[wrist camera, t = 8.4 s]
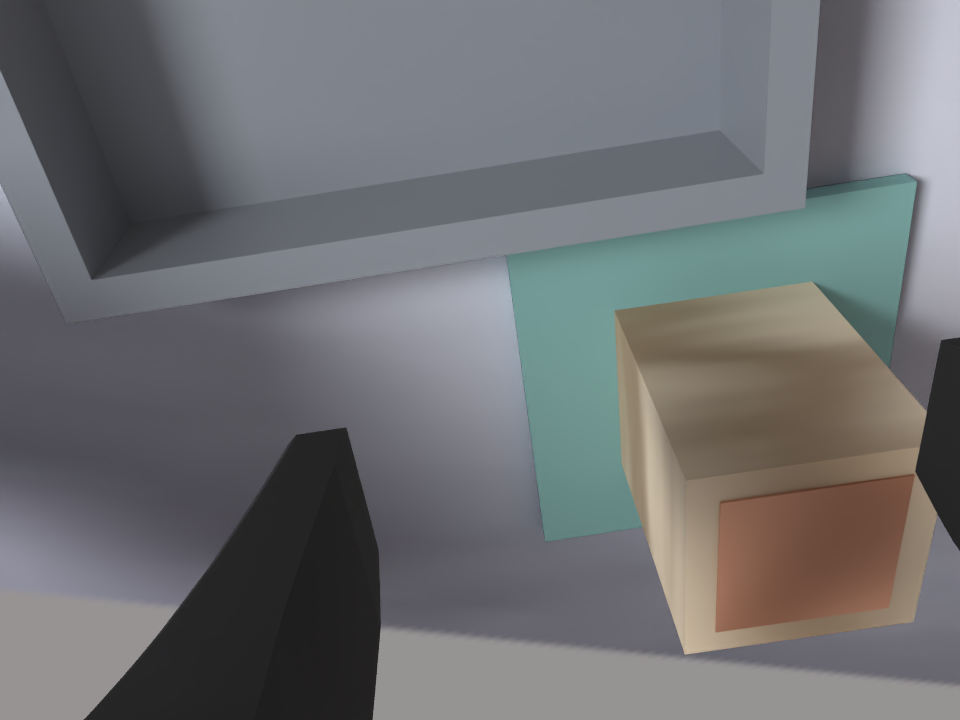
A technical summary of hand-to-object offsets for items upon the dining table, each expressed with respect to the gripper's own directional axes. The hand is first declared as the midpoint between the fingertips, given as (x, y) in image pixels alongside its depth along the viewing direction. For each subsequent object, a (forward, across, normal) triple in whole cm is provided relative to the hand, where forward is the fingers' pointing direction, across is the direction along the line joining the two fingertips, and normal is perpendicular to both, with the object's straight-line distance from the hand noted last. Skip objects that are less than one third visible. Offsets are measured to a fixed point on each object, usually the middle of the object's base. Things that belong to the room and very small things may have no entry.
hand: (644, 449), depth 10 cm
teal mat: (+9, -4, +6) cm, 11 cm away
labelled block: (+9, -4, +6) cm, 11 cm away
